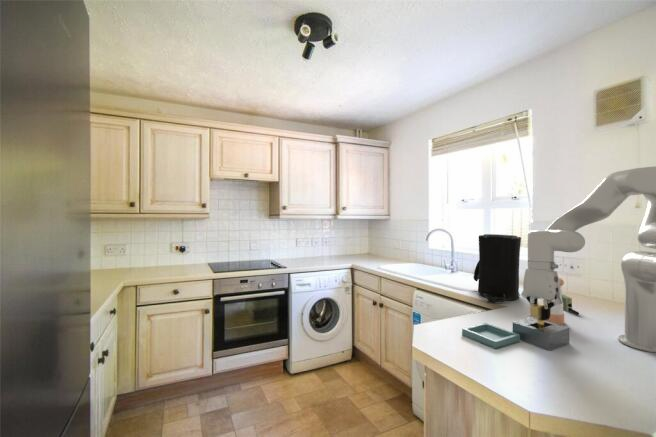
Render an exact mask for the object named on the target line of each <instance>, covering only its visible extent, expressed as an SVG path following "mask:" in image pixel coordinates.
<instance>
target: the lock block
mask: <svg viewBox="0 0 656 437" xmlns="http://www.w3.org/2000/svg"><path fill="white" fill-rule="evenodd" d="M512 332H513V333H516V334H519V335H520V342H521V341H522V342H523V343H527V344H529V345H532V346H534V347H537V348H540V349H543V350H546V351H548V350H549V351H548V352H550V351H554V350H556V349H559V348H562V347H564V346H568V345H570V327H569V326H565V325H562V324H554V323H551V322H547V321H544V328H540V329H538V328H537V318H533V317H528V318H524V319H521V320H515V321H512ZM553 349H554V350H553Z"/></svg>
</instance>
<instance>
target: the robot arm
mask: <svg viewBox="0 0 656 437" xmlns="http://www.w3.org/2000/svg"><path fill="white" fill-rule="evenodd" d="M638 195H643V196H644V198H645V200H646V204H647V206H646V211H645V214H644V217H643V219H642V221H641V225H640V226H639V230H638V234H637V242H638V243H639V244H640V245H641V246H643V247H645V248H648V249H653V250H656V166H655V165H654V166H646V167H636V168H630V169H623V170H619V171H615V172H612V173H610V174H609V175H607V176H606V177H605V178H603V180H601V182H600V183H599V184H598V185H597V186H596V187H595V188H594V190H593V191H591V192H590V194H588V195H587V197H586V198H585V199H583V200H582V201H581V202H580V203H579V204H577V205H575V206H573V207H572V208H571V209H569V210H568V211H567V212H564V213H563V214H561V215H560V216H558V217H557V218H556V219H554V221H553V222H552V223H551V224H550V225H549V226H548V227H547V228H546V229H545V230H542V229H541V230H540V229H539V230H530V231H528V233H527V267H526V268H525V271H524V275H523V282H522V283H523V284H522V285H523V286H522V289H523V290H522V292H521V295H520V296H521V297H523V298H524V299H526V300H527V302H528V303H529V306H530V305H533V304H537V303H538V302H539V300H543V301H542V302H544V308H543V309H542V320H544V321H545V320H548V319H549V318H550V308H552V307H553V306H555V305H559V304H562V301H561V299H560V296H561V294H562V292H561V293H560V282H559V278H560V277H559V273H558V271H557V270H556V269H559V264H556V262H555V252H563V253H576V252H579V251H580V250H582V249H583V248H584V247H585V245H586V238H585V237H584V236H583V234H582V233H580V232H578V231H579V229H581V228H583V227H585V226H588V225H591V224H595V223H597V222H601V221H603V220H605V219H607V218H609V217H610V216H611V215H612V214H613V213H614V212H615V211H616V210H617V209H618V207H620V206H621V205H622V204H623V203H624V202H625V201H626V200H627V199H628V198H629V197H630V196H638ZM620 267H621V268H620V269H621V272H622V275H623V276H622V277H623V282H624V334H621V335H619V336H618V338H617V340H618V341H619V342H620V343H622V344H623V345H626V346H628V347H629V348H634V349H636V350H641V351H644V352H649V353H656V252H653V251H652V252H651V251H646V250H645V251H643V250H637V251H632V252H629V253H627V254H626V255H624V256H623V257H622V260H621V263H620ZM554 299H555V301H554V302H552V301H553V300H554Z"/></svg>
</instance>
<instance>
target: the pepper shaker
mask: <svg viewBox="0 0 656 437" xmlns="http://www.w3.org/2000/svg"><path fill="white" fill-rule="evenodd" d="M559 282H560V293H561V294H562V286H564V284H565V282H564V279H563V278H560V277H559ZM560 299H561V301H562V296H560ZM554 301H555V299H554V300H553V301H552V302H554ZM545 321H547V322H551V323H554V324H558V325H563V324H565V314H564V310H563V302H562V304H559V305H555V306H553V307H552V308H551V315H550V318H549V319H548V320H545Z"/></svg>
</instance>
